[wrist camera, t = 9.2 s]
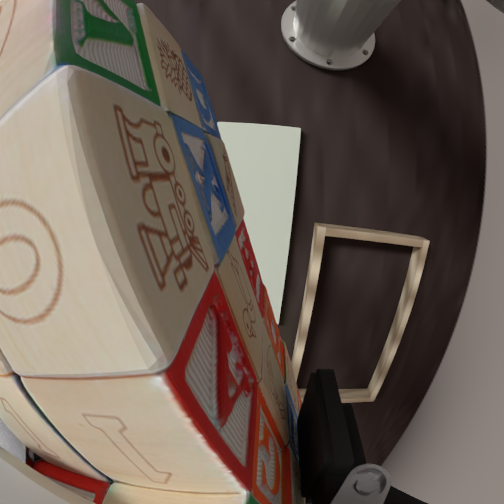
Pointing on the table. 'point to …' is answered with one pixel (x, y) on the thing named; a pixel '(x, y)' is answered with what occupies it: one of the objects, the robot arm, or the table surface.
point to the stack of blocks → (131, 271)
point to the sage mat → (266, 194)
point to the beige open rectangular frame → (401, 314)
